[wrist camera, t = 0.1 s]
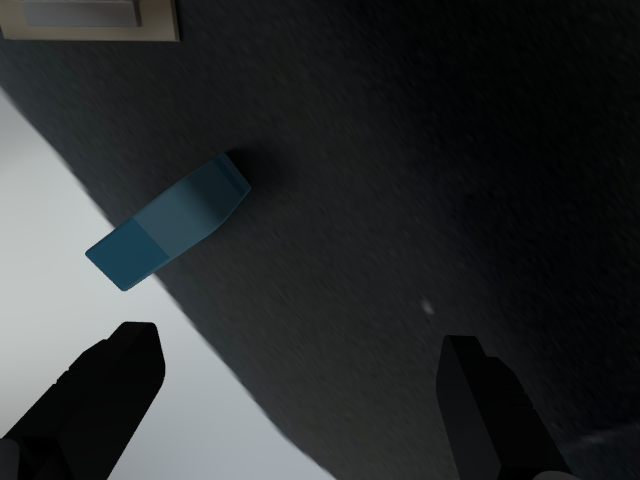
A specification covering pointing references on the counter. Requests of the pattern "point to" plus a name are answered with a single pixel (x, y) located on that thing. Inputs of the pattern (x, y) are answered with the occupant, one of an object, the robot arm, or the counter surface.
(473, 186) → the counter surface
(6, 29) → the rail board
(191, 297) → the counter surface
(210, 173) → the data package
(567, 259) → the counter surface
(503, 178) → the counter surface
